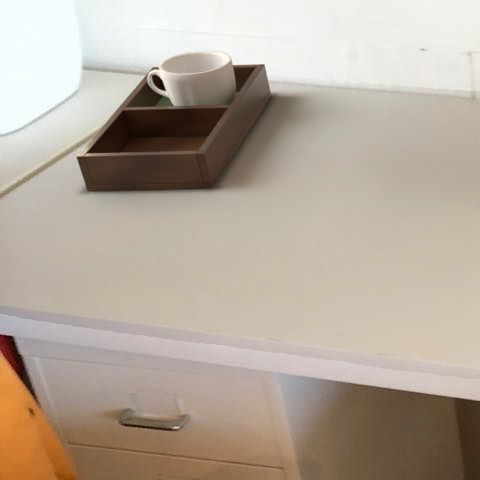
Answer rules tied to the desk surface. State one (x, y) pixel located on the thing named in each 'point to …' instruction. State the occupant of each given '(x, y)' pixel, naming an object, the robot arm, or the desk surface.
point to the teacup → (197, 78)
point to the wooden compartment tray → (172, 137)
